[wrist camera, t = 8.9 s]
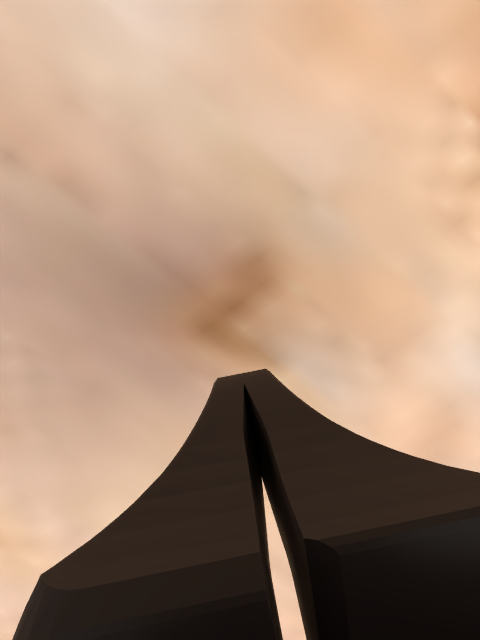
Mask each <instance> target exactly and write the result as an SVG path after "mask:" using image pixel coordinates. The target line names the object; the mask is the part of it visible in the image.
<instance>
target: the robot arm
mask: <svg viewBox="0 0 480 640" xmlns="http://www.w3.org/2000/svg"><path fill="white" fill-rule="evenodd" d="M262 479H263V482H264V486H265V489H266V492H267V495H268V498H269V501H270V504H271V508H272V511H273V514H274V517H275V520H276V523H277V526H278V529H279V532H280V536H281V539H282V542H283V545H284V548H285V551H286V554H287V558H288V561H289V565H290V568H291V572H292V576H293V580H294V585H295V589H296V594H297V598H298V603H299V607H300V612H301V616H302V621H303V625H304V630H305V634H306V639H307V640H480V473H479V472H474V471H469V470H464V469H459V468H454V467H450V466H446V465H442V464H438V463H435V462H431V461H428V460H424V459H421V458H418V457H414V456H411V455H408V454H405V453H402V452H399V451H396V450H393V449H391V448H388V447H386V446H383V445H381V444H378V443H376V442H373V441H371V440H368V439H366V438H364V437H362V436H360V435H357V434H355V433H353V432H352V431H350V430H348V429H346V428H344V427H342V426H340V425H338V424H336V423H334V422H333V421H331V420H329V419H328V418H326V417H325V416H323V415H322V414H320V413H319V412H317V411H316V410H314V409H313V408H311V407H310V406H309V405H307V404H306V403H305V402H304V401H302V400H301V399H300V398H298V397H297V396H296V395H295V394H293V393H292V392H291V391H290V390H289V389H288V388H286V387H285V386H284V385H283V384H282V383H281V382H280V381H279V380H278V379H277V378H276V377H275V376H274V375H273V374H272V373H271V372H270V371H268V370H267V369H262V370H257V371H252V372H247V373H242V374H237V375H231V376H226V377H221V378H218V379H217V380H216V381H215V383H214V385H213V388H212V391H211V394H210V396H209V398H208V401H207V403H206V405H205V407H204V409H203V411H202V413H201V415H200V417H199V419H198V421H197V423H196V425H195V426H194V428H193V430H192V431H191V433H190V435H189V436H188V438H187V440H186V441H185V443H184V444H183V446H182V447H181V449H180V450H179V452H178V453H177V455H176V456H175V457H174V459H173V460H172V462H171V463H170V464H169V465H168V467H167V468H166V469H165V470H164V472H163V473H162V474H161V475H160V476H159V477H158V478H157V479H156V480H155V482H154V483H153V484H152V485H151V486H150V487H149V488H148V489H147V490H146V491H145V492H144V493H143V494H142V495H141V496H140V497H139V498H138V499H137V500H136V501H135V502H134V503H133V504H132V505H131V506H130V507H129V508H128V509H127V510H125V511H124V512H123V513H122V514H121V515H120V516H119V517H118V518H116V519H115V520H114V521H113V522H112V523H110V524H109V525H108V526H107V527H106V528H105V529H103V530H102V531H101V532H100V533H98V534H97V535H96V536H95V537H93V538H92V539H91V540H89V541H88V542H87V543H85V544H84V545H83V546H81V547H80V548H78V549H77V550H76V551H74V552H73V553H71V554H70V555H69V556H67V557H66V558H64V559H63V560H62V561H60V562H59V563H57V564H56V565H55V566H53V567H52V568H50V569H49V570H47V571H46V572H44V573H43V574H41V576H40V578H39V580H38V582H37V584H36V586H35V588H34V591H33V593H32V595H31V597H30V599H29V601H28V603H27V605H26V607H25V609H24V612H23V614H22V617H21V619H20V622H19V624H18V626H17V629H16V632H15V634H14V637H13V640H283V638H282V633H281V627H280V622H279V616H278V611H277V605H276V600H275V594H274V589H273V583H272V577H271V569H270V562H269V552H268V541H267V530H266V519H265V508H264V497H263V486H262Z"/></svg>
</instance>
